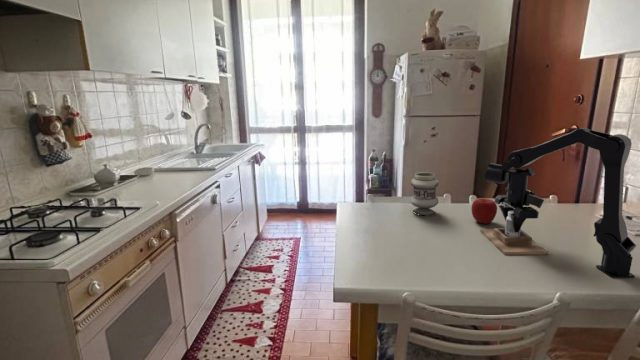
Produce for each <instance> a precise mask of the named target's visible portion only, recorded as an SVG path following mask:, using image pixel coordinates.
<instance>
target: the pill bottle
mask: <svg viewBox="0 0 640 360" xmlns="http://www.w3.org/2000/svg"><path fill="white" fill-rule="evenodd" d="M510 214H514V211H508V216H507V218H506V221H505V227H504V228H505V234H506V235H507V236H510V237H519V236H520V231H521V230H522V227H521V228H520V230H519V232H515V231H514V227H513V223H512V219H511V215H510Z"/></svg>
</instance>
